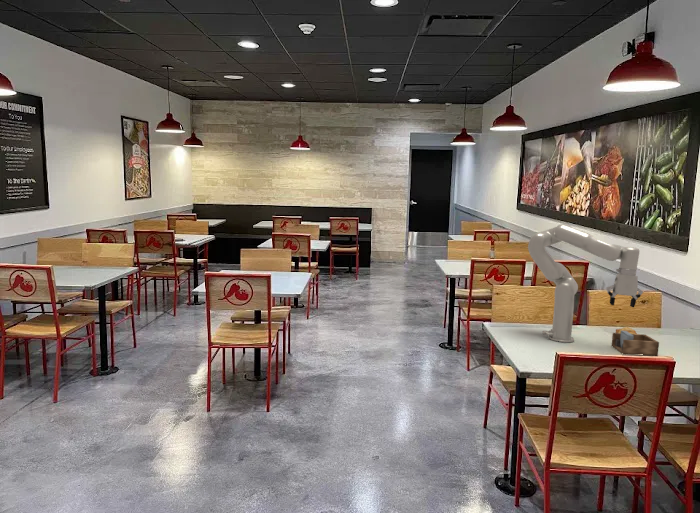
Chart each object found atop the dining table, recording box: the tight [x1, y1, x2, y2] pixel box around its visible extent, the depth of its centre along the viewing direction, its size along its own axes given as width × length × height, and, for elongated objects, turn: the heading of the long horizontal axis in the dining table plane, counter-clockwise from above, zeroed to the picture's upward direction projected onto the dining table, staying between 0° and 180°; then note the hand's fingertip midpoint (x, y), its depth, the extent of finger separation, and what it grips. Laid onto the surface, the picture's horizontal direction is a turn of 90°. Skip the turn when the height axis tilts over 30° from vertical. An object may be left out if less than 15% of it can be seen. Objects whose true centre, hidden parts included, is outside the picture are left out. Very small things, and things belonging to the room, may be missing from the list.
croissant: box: [615, 326, 638, 334], centre depth 279 cm, size 21×10×8 cm, turn 3°
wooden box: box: [611, 332, 660, 357], centre depth 258 cm, size 16×14×7 cm
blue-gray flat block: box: [619, 331, 634, 347], centre depth 258 cm, size 3×9×8 cm, turn 174°
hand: (622, 305), depth 258 cm, fingers open, 9 cm apart
